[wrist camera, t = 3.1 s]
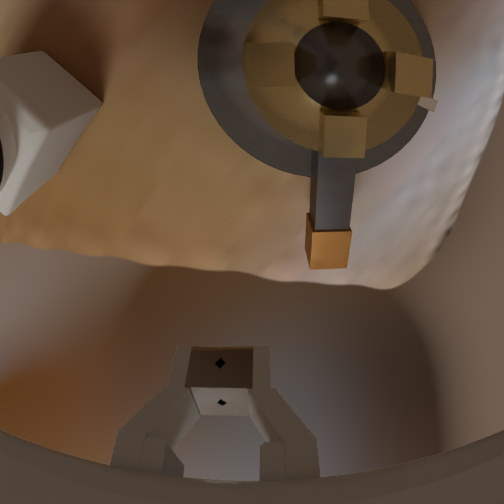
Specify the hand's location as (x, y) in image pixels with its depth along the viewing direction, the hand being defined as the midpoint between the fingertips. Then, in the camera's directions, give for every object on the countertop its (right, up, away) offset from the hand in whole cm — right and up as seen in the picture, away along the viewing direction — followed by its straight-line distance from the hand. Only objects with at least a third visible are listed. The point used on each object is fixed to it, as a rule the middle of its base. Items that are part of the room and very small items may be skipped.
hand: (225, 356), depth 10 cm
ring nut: (+5, +11, +6) cm, 13 cm away
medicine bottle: (-14, +14, +8) cm, 21 cm away
